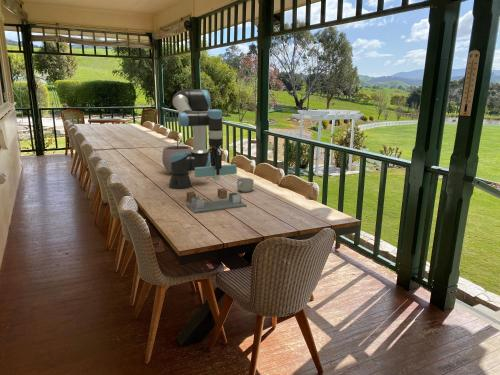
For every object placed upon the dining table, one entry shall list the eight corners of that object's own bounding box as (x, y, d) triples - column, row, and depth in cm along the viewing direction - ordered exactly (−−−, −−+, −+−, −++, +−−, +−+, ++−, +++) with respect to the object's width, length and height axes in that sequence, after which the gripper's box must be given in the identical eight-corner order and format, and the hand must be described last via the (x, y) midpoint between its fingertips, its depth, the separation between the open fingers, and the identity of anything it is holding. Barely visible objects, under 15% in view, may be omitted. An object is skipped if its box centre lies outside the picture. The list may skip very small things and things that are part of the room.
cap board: (186, 206, 223) (186, 204, 222) (236, 199, 236) (236, 198, 236) (194, 213, 210) (194, 211, 209) (246, 206, 223) (246, 204, 223)
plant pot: (199, 174, 302) (198, 136, 295) (170, 178, 289) (168, 138, 282) (185, 169, 321) (184, 132, 314) (158, 172, 308) (156, 134, 301)
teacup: (244, 188, 263) (244, 176, 261) (256, 190, 256) (257, 179, 254) (230, 192, 253) (230, 180, 251) (243, 195, 246) (243, 182, 244)
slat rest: (186, 200, 234) (186, 192, 233) (223, 195, 244) (223, 187, 243) (189, 202, 229) (189, 194, 228) (227, 198, 239) (227, 190, 238)
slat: (194, 176, 214) (194, 167, 213) (234, 172, 224) (234, 164, 223) (196, 177, 212) (196, 168, 210) (236, 173, 222) (236, 165, 221)
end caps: (191, 205, 220) (190, 197, 218) (236, 200, 231) (236, 192, 230) (195, 209, 213) (194, 200, 212) (241, 203, 225) (241, 194, 224)
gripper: (204, 136, 218) (205, 177, 224) (214, 140, 204) (215, 183, 210) (216, 136, 221) (217, 176, 227) (227, 139, 207) (227, 182, 213)
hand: (216, 179), depth 219 cm, fingers closed on slat, 3 cm apart
